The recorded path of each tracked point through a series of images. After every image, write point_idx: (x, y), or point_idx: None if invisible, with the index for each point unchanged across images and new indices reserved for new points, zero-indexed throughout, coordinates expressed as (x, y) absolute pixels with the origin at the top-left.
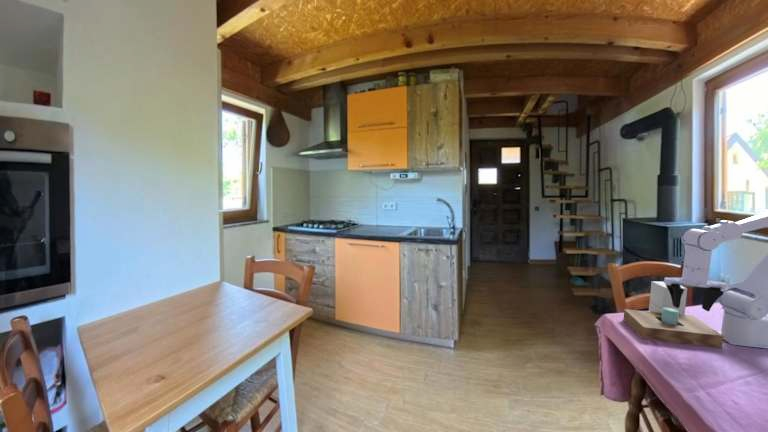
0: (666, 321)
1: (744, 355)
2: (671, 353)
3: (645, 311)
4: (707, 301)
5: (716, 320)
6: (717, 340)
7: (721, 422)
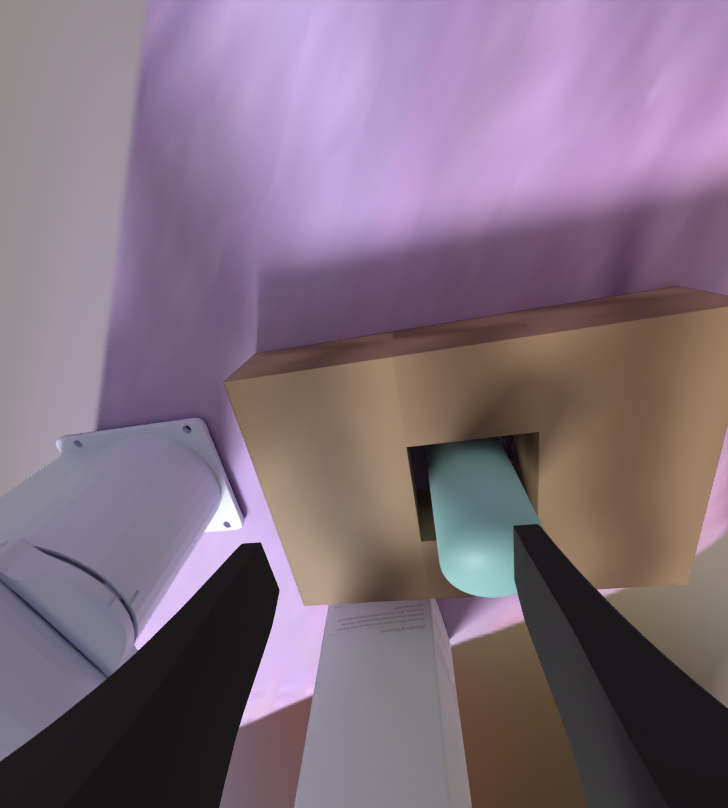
0: (509, 467)
1: (174, 308)
2: (598, 99)
3: None
4: (215, 660)
5: None
6: (264, 364)
7: None
